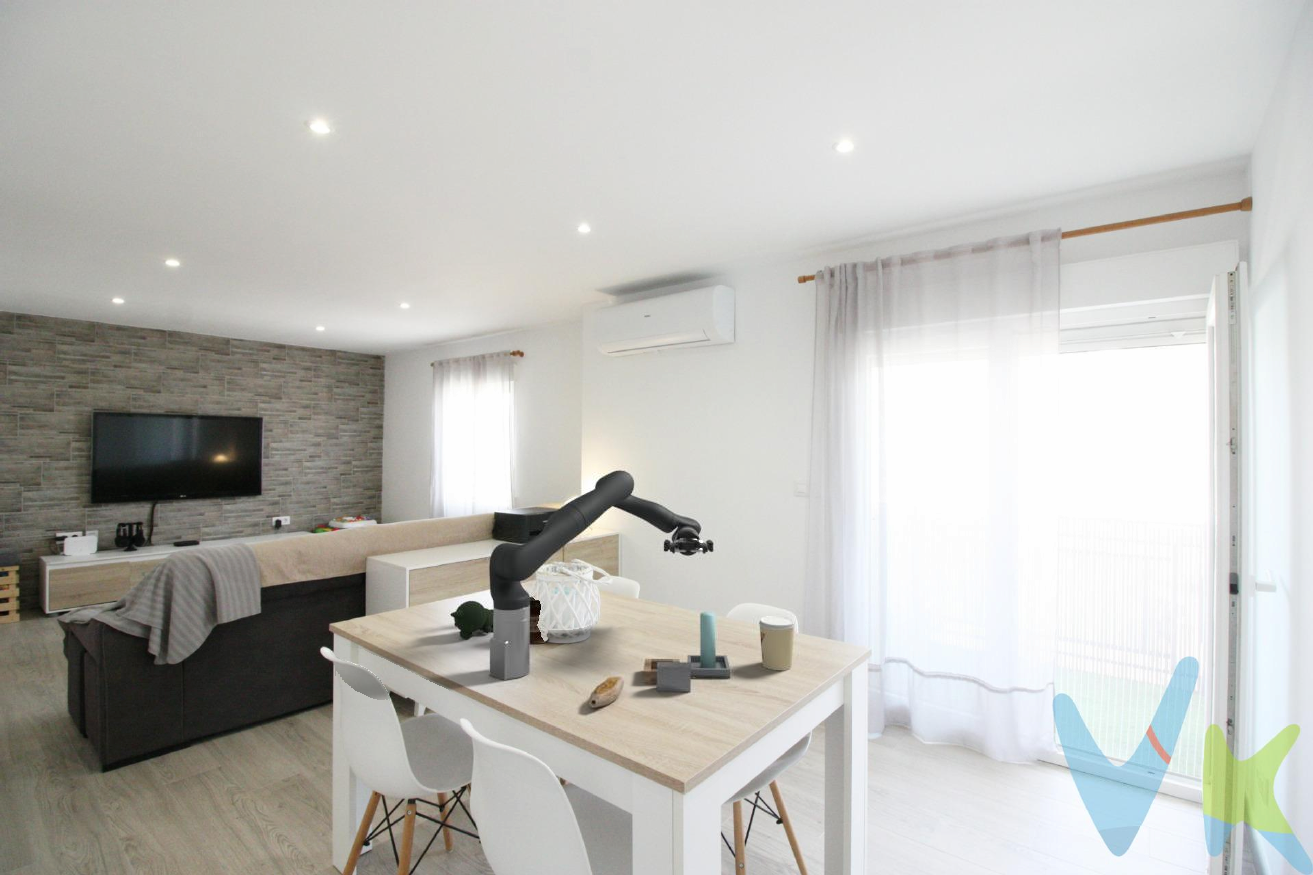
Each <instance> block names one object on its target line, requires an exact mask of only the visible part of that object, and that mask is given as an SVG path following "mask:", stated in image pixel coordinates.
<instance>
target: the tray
mask: <svg viewBox="0 0 1313 875" xmlns="http://www.w3.org/2000/svg"><path fill="white" fill-rule="evenodd" d="M728 659H729V658H728V656H727V655H724V654H723V655H722V654H720V655H719V654H716V668H700V654H695V655H694V654H687V659H686V660H687V661H686V662H690V666H691V679H693V678H695V679H697V678H698V679H702V678H703V679H731V666H730V663H729V660H728Z"/></svg>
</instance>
